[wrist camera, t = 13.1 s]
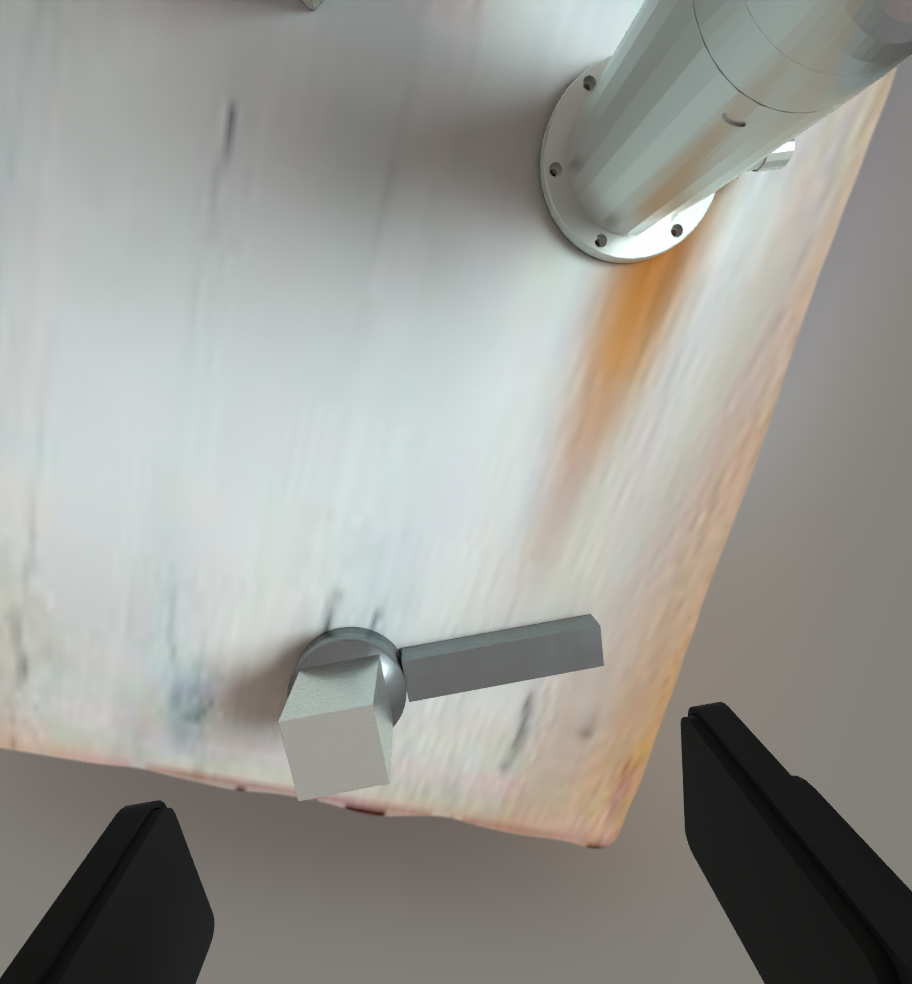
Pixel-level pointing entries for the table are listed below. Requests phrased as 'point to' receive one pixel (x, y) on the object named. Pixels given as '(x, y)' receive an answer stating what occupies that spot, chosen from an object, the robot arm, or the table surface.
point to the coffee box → (312, 3)
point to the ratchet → (464, 657)
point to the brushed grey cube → (338, 728)
